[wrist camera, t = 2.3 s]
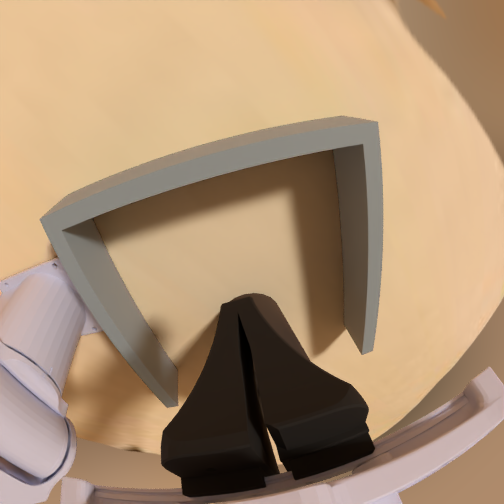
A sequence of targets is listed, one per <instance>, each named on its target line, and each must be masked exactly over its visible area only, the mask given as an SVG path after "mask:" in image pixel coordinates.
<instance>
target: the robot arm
mask: <svg viewBox="0 0 504 504" xmlns="http://www.w3.org/2000/svg"><path fill="white" fill-rule="evenodd" d="M54 263H55V264H56V265H57V266H55V265H54ZM7 283H8V284H7ZM0 290H1V292H2V294H1V295H0V504H36V503H40V502H45V501H46V500H47V498H48V496H49V494H50V492H51V490H52V488H53V487H54V485H55V484H56V483H57V482H58V481H59V480H60V479H62V488H61V503H60V504H208V503H216V504H402V501H401V499H400V497H399V494H398V493H399V492H401V491H403V490H405V489H407V488H409V487H411V486H412V485H414V484H416V483H417V482H420V481H421V480H423V479H425V478H426V477H428V476H430V475H431V474H433V473H435V472H436V471H438V470H439V469H441V468H442V467H444V466H446V465H447V464H449V463H450V462H451V461H453V460H454V459H456V458H457V457H459V456H460V455H461V454H463V453H464V452H465V451H467V450H468V449H469V448H471V447H472V446H473V445H475V444H476V443H477V442H478V441H480V440H481V439H482V438H483V437H485V436H486V435H487V434H488V433H489V432H491V431H492V430H493V429H494V428H495V427H496V426H497V425H498V424H499V423H500V422H501V421H503V419H504V385H503V383H502V382H501V381H500V380H499V378H498V377H497V375H496V374H495V373H494V372H493V370H492V369H491V368H490V367H487V368H486V369H485V370H484V371H482V372H481V373H480V374H478V375H477V376H476V377H474V378H473V379H472V380H471V381H470V382H469V383H468V384H467V385H466V387H465V388H464V391H463V392H461V393H460V394H459V395H457V396H456V397H454V398H453V399H451V400H450V401H448V402H447V403H445V404H443V405H442V406H440V407H439V408H437V409H436V410H434V411H432V412H430V413H429V414H427V415H425V416H424V417H422V418H420V419H418V420H417V421H415V422H413V423H411V424H409V425H407V426H406V427H404V428H402V429H400V430H398V431H396V432H394V433H392V434H390V435H387V436H385V437H383V438H381V439H379V440H377V441H374V442H372V440H371V438H370V435H369V433H368V432H369V429H368V426H367V424H366V418H367V415H368V412H369V408H368V406H367V404H366V402H365V401H364V399H363V398H362V396H361V395H360V394H359V393H358V391H357V390H356V389H355V388H354V387H353V386H352V385H351V384H349V383H347V382H345V381H343V380H341V379H339V378H337V377H335V376H333V375H331V374H329V373H328V372H326V371H324V370H323V369H321V368H319V367H318V366H316V365H315V364H313V363H312V362H311V361H309V360H308V359H306V358H305V357H303V356H302V355H301V354H300V353H298V352H297V351H296V350H295V349H294V348H292V347H291V346H290V345H289V344H288V343H287V342H286V341H285V340H284V339H283V338H282V337H281V336H280V335H279V334H278V333H277V332H276V331H275V330H274V329H273V328H272V327H271V325H270V324H269V323H268V322H267V320H266V319H265V318H264V317H263V315H262V314H261V312H260V311H259V309H258V308H257V306H256V304H255V302H254V300H253V298H252V297H250V296H249V297H246V298H242V299H238V300H235V301H231V302H227V303H224V304H222V305H221V309H220V316H219V321H218V326H217V330H216V334H215V337H214V341H213V344H212V347H211V350H210V353H209V356H208V359H207V361H206V364H205V366H204V368H203V370H202V373H201V375H200V377H199V379H198V381H197V383H196V385H195V386H194V388H193V390H192V392H191V393H190V395H189V397H188V398H187V400H186V401H185V403H184V404H183V406H182V407H181V409H180V410H179V412H178V413H177V414H176V416H175V417H174V418H173V419H172V421H171V422H170V423H169V424H168V426H167V427H166V428H165V429H164V430H163V434H162V441H161V464H162V466H163V467H164V468H165V469H167V470H168V471H170V472H172V473H174V474H175V475H177V476H179V477H181V484H182V488H176V489H135V488H118V487H106V486H97V485H93V484H92V483H90V482H88V481H85V480H82V479H78V478H71V477H66V476H65V475H66V474H67V472H68V471H69V470H70V468H71V467H72V465H73V462H74V459H75V456H76V448H77V437H76V431H75V428H74V426H73V424H72V422H71V421H70V420H69V419H68V418H67V417H66V413H67V409H68V404H67V403H66V402H65V401H64V400H63V399H62V394H63V390H64V387H65V383H66V379H67V376H68V373H69V369H70V366H71V363H72V360H73V356H74V353H75V350H76V347H77V344H78V342H79V339H80V336H82V335H87V334H92V333H96V332H101V331H103V329H102V328H101V326H100V325H99V323H98V322H97V320H96V319H95V317H94V316H93V314H92V313H91V311H90V310H89V308H88V307H87V305H86V304H85V302H84V301H83V299H82V297H81V296H80V294H79V293H78V291H77V289H76V288H75V286H74V284H73V283H72V281H71V279H70V277H69V276H68V274H67V272H66V270H65V269H64V267H63V265H62V263H61V261H60V260H59V258H58V257H57V258H54V259H52V260H49V261H47V262H44V263H42V264H39V265H37V266H34V267H32V268H29V269H27V270H25V271H22V272H20V273H18V274H15V275H13V276H11V277H8V278H6V279H4V280H1V281H0ZM95 327H96V328H95ZM253 362H254V364H253ZM254 367H255V371H254ZM255 372H256V377H257V382H258V387H259V392H260V398H261V403H262V409H263V413H262V409H261V405H260V402H259V397H258V392H257V385H256V378H255ZM263 415H264V417H263ZM266 426H267V428H268V430H269V432H270V434H271V436H272V438H273V440H274V442H275V444H276V447H277V450H278V454H279V458H280V461H281V462H282V463H283V465H284V466H285V468H286V470H287V472H285V473H281V474H280V472H279V469H278V466H277V463H276V459H275V456H274V453H273V449H272V446H271V442H270V439H269V435H268V432H267V428H266ZM351 470H353V471H352V475H349V476H346V477H344V478H340V479H337V480H333V481H330V482H326V483H318V484H313V483H316V482H320V481H323V480H326V479H329V478H332V477H334V476H338V475H340V474H343V473H346V472H348V471H351ZM310 484H312V485H310ZM306 485H308V486H306ZM218 502H221V503H218Z"/></svg>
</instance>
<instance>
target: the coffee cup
mask: <svg viewBox="0 0 504 504" xmlns="http://www.w3.org/2000/svg"><path fill="white" fill-rule="evenodd" d="M249 296H250V297H252V298H253V300H254V302H255V304H256V306H257V308H258V309H259V311H260V312H261V314H262V315H263V317H264V318H265V319H266V320H267V322H268V323H269V324H270V325H271V327H272V328H273V329H274V330H275V331H276V332H277V333H278V334H279V335H280V336H281V337H282V338H283V339H284V340H285V341H286V342H287V343H288V344H289V345H290V346H291V347H292V348H294V349H295V350H296V351H297V352H298V353H300V354H301V355H302V356H303V357H305V358H306V359H308V360H309V361H310V359H309V358H308V356H307V354H306V353H305V351H304V349H303V348H302V346H301V344H300V342H299V341H298V339H297V337H296V336H295V334H294V332H293V330H292V329H291V327H290V325H289V324H288V322H287V320H286V318H285V317H284V315H283V313H282V312H281V310H280V308H279V307H278V305H277V303H276V302H275V301H274V300H273V299H272V298H271V297H268V296H266V295H264V294H256V293H252V294H244V295H241V296H239V297H236V298H234V299H233V300H232V301H235V300H238V299H242V298H246V297H249ZM230 302H231V301H230ZM253 364H254V362H253ZM254 371H255V367H254ZM255 378H256V385H257V392H258V397H259V402H260V405H261V409H262V403H261V398H260V392H259V387H258V382H257V377H256V372H255ZM262 413H263V409H262ZM263 417H264V415H263ZM266 428H267V426H266Z"/></svg>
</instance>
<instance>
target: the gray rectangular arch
mask: <svg viewBox="0 0 504 504" xmlns="http://www.w3.org/2000/svg"><path fill="white" fill-rule="evenodd" d="M331 149H333V155H334V163H335V171H336V180H337V189H338V199H339V210H340V223H341V237H342V255H343V282H344V325H345V327H346V329H347V330H348V332H349V334H350V336H351V337H352V339H353V341H354V342H355V344H356V346H357V348H358V349H359V351H360V353H361V354H362V355H363V354H366V353H368V352H371V351H373V346H374V340H375V332H376V325H377V316H378V307H379V297H380V285H381V271H382V252H383V182H382V163H381V149H380V138H379V128H378V122H376V121H371V120H366V119H360V118H354V117H347V116H338V117H330V118H324V119H317V120H311V121H305V122H299V123H293V124H288V125H283V126H278V127H273V128H268V129H263V130H259V131H254V132H250V133H246V134H242V135H237V136H233V137H229V138H226V139H222V140H218V141H214V142H211V143H207V144H203V145H200V146H197V147H193V148H190V149H186V150H183V151H180V152H177V153H174V154H171V155H167V156H164V157H161V158H158V159H156V160H153V161H150V162H147V163H144V164H141V165H139V166H136V167H133V168H130V169H128V170H125V171H122V172H120V173H117V174H115V175H112V176H110V177H107V178H105V179H102V180H100V181H98V182H95V183H93V184H91V185H88V186H86V187H84V188H81V189H79V190H77V191H75V192H73V193H70V194H68V195H67V196H66V197H64V198H63V199H62V200H61V201H60V202H58V203H57V204H56V205H55V206H54V207H53V208H51V209H50V210H49V211H48V212H47V213H46V214H45V215H44V216H42V217H41V218H40V221H41V223H42V226H43V228H44V230H45V232H46V234H47V236H48V238H49V240H50V242H51V244H52V246H53V248H54V250H55V252H56V254H57V256H58V258H59V260H60V261H61V263H62V265H63V267H64V269H65V270H66V272H67V274H68V276H69V277H70V279H71V281H72V283H73V284H74V286H75V288H76V289H77V291H78V293H79V294H80V296H81V297H82V299H83V301H84V302H85V304H86V305H87V307H88V308H89V310H90V311H91V313H92V314H93V316H94V317H95V319H96V320H97V322H98V323H99V325H100V326H101V328H102V329H103V330H104V332H105V333H106V335H107V336H108V337H109V339H110V340H111V342H112V343H113V344H114V346H115V347H116V348H117V350H118V351H119V352H120V353H121V355H122V356H123V357H124V359H125V360H126V361H127V362H128V364H129V365H130V366H131V367H132V369H133V370H134V371H135V372H136V373H137V375H138V376H139V377H140V378H141V379H142V381H143V382H144V383H145V384H146V385H147V386H148V387H149V389H150V390H151V391H152V392H153V393H154V394H155V395H156V396H157V398H158V399H159V400H160V401H161V402H162V403H163V404H164V405H165V406H166V407H167V408H169V407H175V406H178V370H177V369H176V367H175V366H174V364H173V363H172V361H171V360H170V358H169V357H168V355H167V354H166V352H165V351H164V349H163V348H162V346H161V345H160V343H159V342H158V340H157V339H156V337H155V335H154V334H153V332H152V331H151V329H150V327H149V326H148V324H147V322H146V321H145V319H144V317H143V316H142V314H141V312H140V311H139V309H138V307H137V306H136V304H135V302H134V300H133V299H132V297H131V295H130V293H129V291H128V290H127V288H126V286H125V284H124V282H123V280H122V278H121V277H120V275H119V273H118V271H117V269H116V267H115V265H114V263H113V261H112V259H111V257H110V255H109V253H108V251H107V249H106V247H105V245H104V243H103V241H102V238H101V236H100V234H99V232H98V230H97V227H96V225H95V223H94V221H93V217H96V216H98V215H101V214H103V213H106V212H109V211H111V210H114V209H117V208H119V207H122V206H125V205H128V204H130V203H133V202H136V201H139V200H142V199H145V198H148V197H151V196H154V195H157V194H160V193H163V192H166V191H169V190H172V189H175V188H178V187H182V186H185V185H188V184H191V183H195V182H198V181H201V180H205V179H208V178H212V177H215V176H219V175H223V174H226V173H230V172H234V171H237V170H241V169H245V168H249V167H253V166H257V165H261V164H265V163H270V162H274V161H278V160H282V159H287V158H291V157H296V156H301V155H306V154H310V153H315V152H320V151H326V150H331Z"/></svg>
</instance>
